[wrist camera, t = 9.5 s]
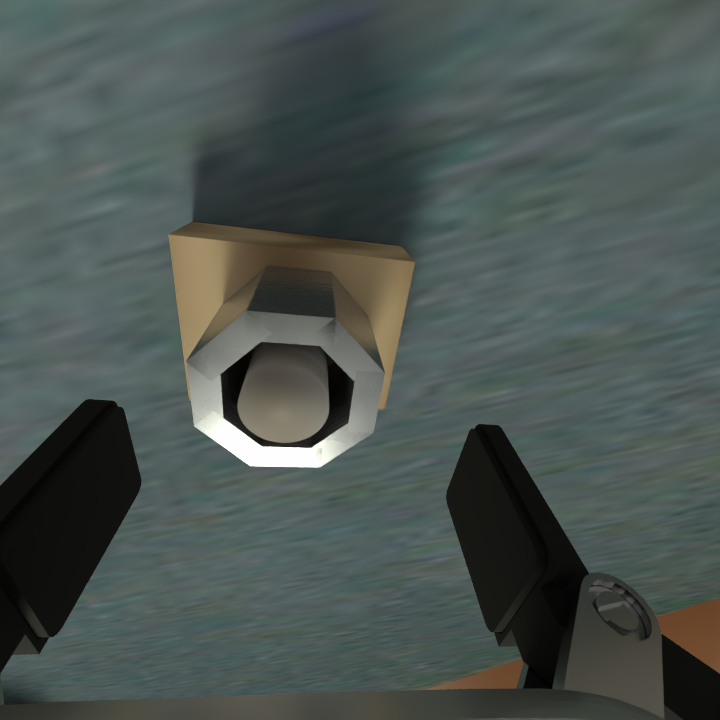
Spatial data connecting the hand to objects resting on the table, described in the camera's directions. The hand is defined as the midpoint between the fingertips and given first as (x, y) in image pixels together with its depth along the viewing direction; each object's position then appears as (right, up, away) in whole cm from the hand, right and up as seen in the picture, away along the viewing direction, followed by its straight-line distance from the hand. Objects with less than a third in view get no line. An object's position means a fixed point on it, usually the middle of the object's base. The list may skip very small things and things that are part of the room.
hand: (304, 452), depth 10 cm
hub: (-1, +4, +7) cm, 8 cm away
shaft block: (-2, +5, +9) cm, 11 cm away
